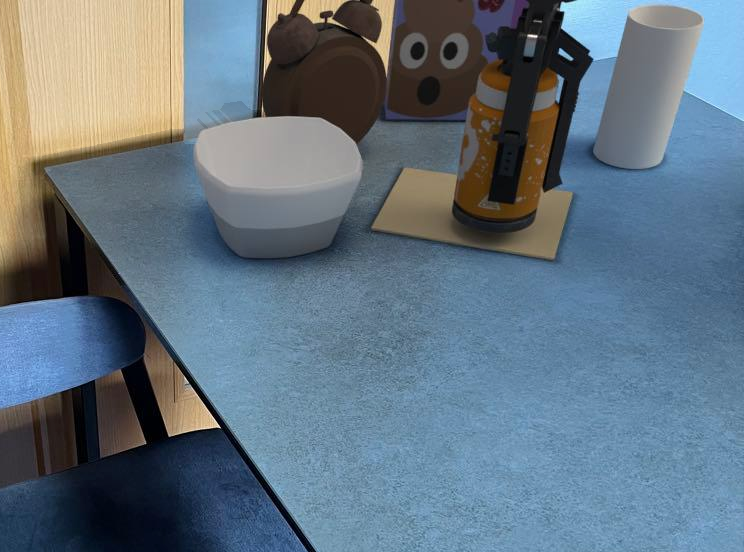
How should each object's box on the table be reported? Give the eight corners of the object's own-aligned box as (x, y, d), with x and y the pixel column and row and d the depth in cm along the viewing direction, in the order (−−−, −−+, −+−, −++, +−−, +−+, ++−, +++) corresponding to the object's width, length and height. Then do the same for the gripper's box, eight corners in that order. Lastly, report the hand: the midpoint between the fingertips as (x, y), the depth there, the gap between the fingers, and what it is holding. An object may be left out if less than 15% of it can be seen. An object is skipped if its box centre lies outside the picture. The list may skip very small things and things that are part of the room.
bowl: (181, 204, 120) (178, 124, 113) (327, 187, 122) (333, 108, 116) (213, 282, 108) (212, 198, 101) (375, 262, 110) (385, 178, 103)
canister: (448, 199, 117) (477, 10, 103) (547, 201, 116) (590, 12, 102) (453, 238, 111) (485, 43, 97) (559, 241, 110) (606, 44, 96)
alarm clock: (353, 134, 133) (367, -37, 119) (383, 156, 128) (401, -20, 114) (252, 156, 129) (255, -18, 115) (279, 180, 124) (285, 1, 110)
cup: (653, 174, 123) (696, 33, 112) (585, 160, 126) (620, 22, 115) (669, 148, 128) (711, 10, 117) (602, 135, 131) (637, 0, 120)
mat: (572, 194, 120) (573, 192, 120) (553, 260, 110) (554, 258, 109) (404, 169, 126) (404, 167, 125) (370, 230, 115) (370, 227, 115)
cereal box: (385, 120, 136) (408, -87, 119) (383, 106, 139) (404, -98, 122) (519, 122, 135) (561, -87, 118) (514, 107, 138) (554, -98, 121)
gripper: (531, -88, 102) (490, 135, 118) (493, -22, 88) (453, 222, 104) (609, -82, 100) (557, 144, 116) (584, -14, 86) (529, 234, 102)
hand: (508, 181), depth 110 cm, fingers closed on canister, 9 cm apart
